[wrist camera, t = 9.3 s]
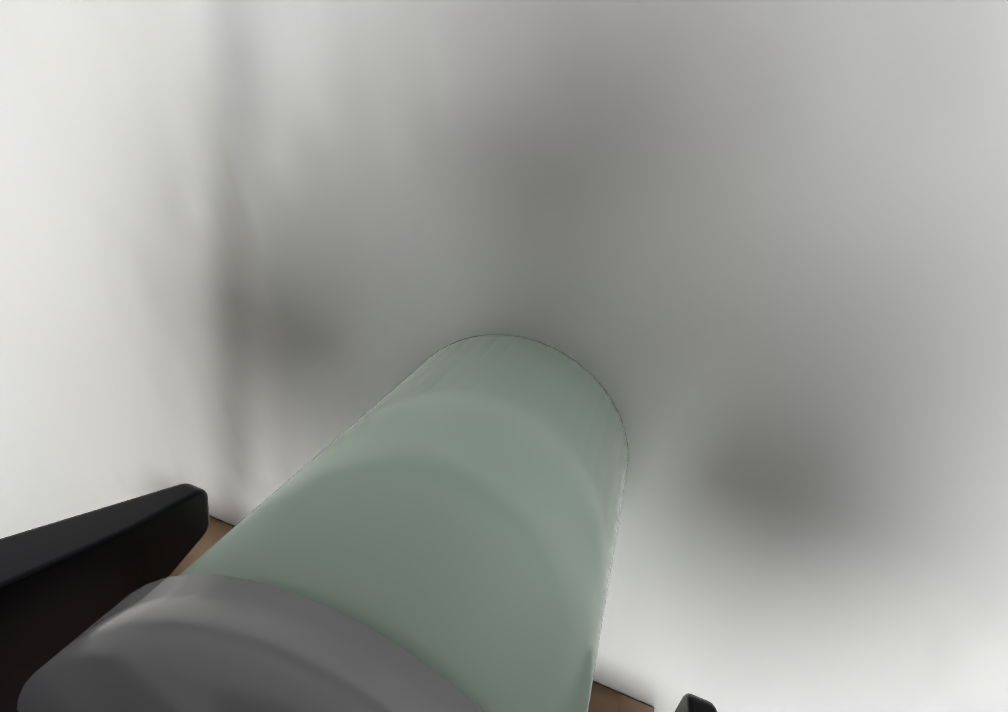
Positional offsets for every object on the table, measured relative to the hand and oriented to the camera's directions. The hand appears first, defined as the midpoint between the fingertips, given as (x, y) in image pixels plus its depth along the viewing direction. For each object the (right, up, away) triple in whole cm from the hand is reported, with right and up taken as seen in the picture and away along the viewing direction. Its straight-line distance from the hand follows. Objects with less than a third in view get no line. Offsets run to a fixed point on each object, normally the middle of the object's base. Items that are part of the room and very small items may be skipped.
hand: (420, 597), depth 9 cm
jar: (+2, +2, +4) cm, 5 cm away
